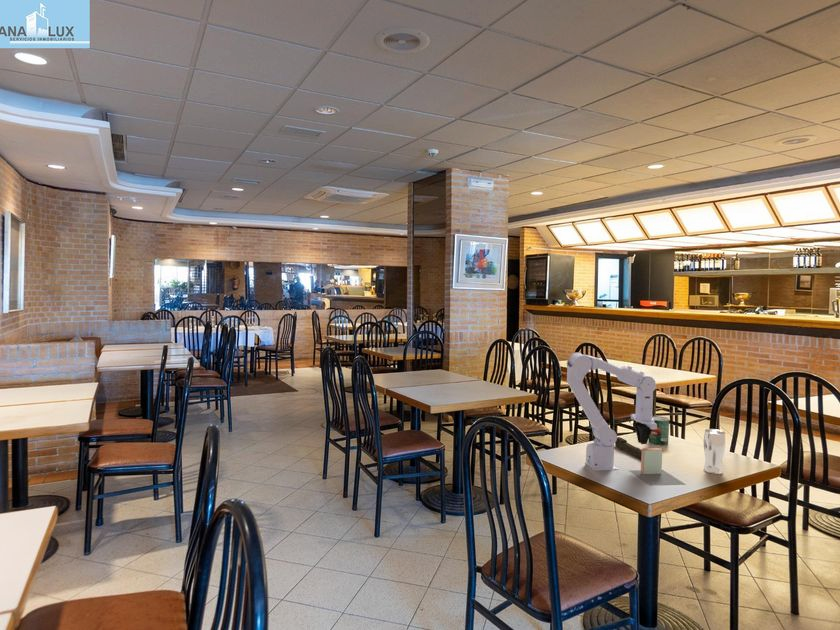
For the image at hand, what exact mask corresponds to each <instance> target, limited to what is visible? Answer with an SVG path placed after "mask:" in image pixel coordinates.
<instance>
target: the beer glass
mask: <svg viewBox="0 0 840 630" xmlns="http://www.w3.org/2000/svg"><path fill="white" fill-rule="evenodd" d="M725 450H726V432H725V431H723V430H721V429H720V430H719V429H715V428H706V429H704V435H703V452H704V459H705V460H704V461H705V462H704V466H703V472H705V471H706V473H707V474H711V473H712V475H722V474H723V466H722V465H723V464H722V463H723V458H724V454H725V452H726V451H725Z"/></svg>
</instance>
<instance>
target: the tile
mask: <svg viewBox="0 0 840 630" xmlns="http://www.w3.org/2000/svg"><path fill="white" fill-rule="evenodd" d="M641 450H642V454H641V460H640V470H641V474H661V470H663V469H662V468H663V467H662V465H663V462H662V461H663V449H662V448H660V447H656V448H655V447H652V448H649V447H647V448H646V447H645V448H641Z"/></svg>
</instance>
